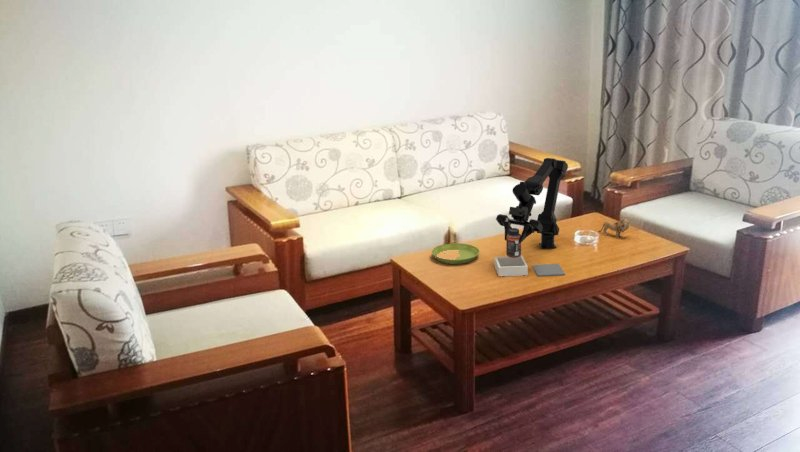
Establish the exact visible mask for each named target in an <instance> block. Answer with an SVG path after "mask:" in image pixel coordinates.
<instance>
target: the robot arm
mask: <svg viewBox="0 0 800 452" xmlns="http://www.w3.org/2000/svg"><path fill="white" fill-rule="evenodd" d="M568 168H569V165H568V163H567V162H566V161H565V160H560V159H556V158H553V157H546V158H543V162H542V163H541V165H540V166H539V168H538V169H537V170H536V172H535V173H534V175H532V176H530V177H528V178H527V179H526V180H525V181H520V182H519V183H517V184H516V185H515V186H514V187H513V188H512V194H513V195H514V197H515V198H516V200H517V201H518V202H519V203H518V205H516V206H515V207H514V206H509V211H508V215H509V216H510V215H511V218H510V217H508V215H507V214H502V213H500V214H497V215H496V217H495V220H496V221H497V223H498V224H499V226H501V227H504V241H506V242H507V234H509V229H511V228H513V227H512V225H516V226H522V227H523V228H522V229H523V230H522V232H521V233H520V235H521V236H520V239H519V243H521V244H522V243H523V241H524V240H525V239H526V238H528V237H529V236H530V235H532V234H535V232H536V234H541V235H540V238H541V239H540V242H538V245H539V246H540V248H541V249H544V250H545V249H556V248H557V246H556V244H555V236H559V234H560V227H559V226H558V224H557V221H558V220H557V217H556V214H555V211H556V205H557V200H558V195H559V189H560V185H561V181H562V179H564V177H565V176H566V173H567V171H568ZM547 178H548V179H549V180H548V185H547V190H546V194H545V200H544V204H543V205H544V207H543V211H542V212H541V213H538V215H537V219H532V218H530V217H532V211H533V208H534V205H536V204H537V200H536V197H534V196H540V195H541V194H542V191H543V189H544V182H545V181H546V180H547ZM529 218H530V219H529Z"/></svg>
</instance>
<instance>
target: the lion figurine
mask: <svg viewBox="0 0 800 452" xmlns="http://www.w3.org/2000/svg"><path fill="white" fill-rule="evenodd" d="M629 228H630V222H629V220H628V219H622V220H620V221H616V222H615V223H614V222H611V221H610V220H605V221H604V222H603V224H602V227H601V229H600V230H599V231H597V232H598V233H601V232H603V234H604V236H605V237H607V236H608V234H607V231H608V229H609V230H610V231H612V232H615V235H616V237H615V238H616V239H617V240H620V238H622V235H621V233H622V234H623V233H624V232H625V231H627V230H629Z"/></svg>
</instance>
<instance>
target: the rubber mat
mask: <svg viewBox="0 0 800 452" xmlns="http://www.w3.org/2000/svg"><path fill="white" fill-rule="evenodd" d="M531 267H532V269H533V271H534V273H535V275H536V276H537V277H556V276H557V277H558V276H566V273H565V272H564V270H563V268H562V267H561V265H560V264H559V263H547V264H532V265H531Z"/></svg>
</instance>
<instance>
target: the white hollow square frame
mask: <svg viewBox="0 0 800 452" xmlns="http://www.w3.org/2000/svg"><path fill="white" fill-rule="evenodd" d="M494 268H495V270H497V271H496V273H497V275H498V277H499V276H501V277H500V278H502V276H505V277H521V276H523V275H525V276H528V274H529V273H528V271H529V270H528V269H529V266H528V264H527V262H526V260H525V258H524V257H523V255H521V256H520V257H517V258H511V257H508V256H507V255H506V256H494Z"/></svg>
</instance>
